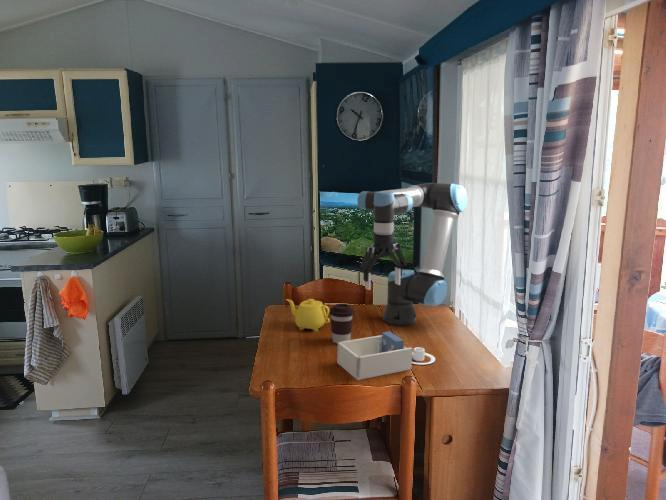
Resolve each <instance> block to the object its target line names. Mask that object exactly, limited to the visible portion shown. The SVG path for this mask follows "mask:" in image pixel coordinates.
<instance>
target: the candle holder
mask: <svg viewBox="0 0 666 500" xmlns="http://www.w3.org/2000/svg"><path fill="white" fill-rule="evenodd" d="M425 357H428V358H429V359H430V361H428V362H423V361H424V360H425ZM412 360H413V361H412V364H413V365H420V366H422V365H423V366H424V365H430V364H432V363H434V362H435V361H436V357H435V356H434V355H432V354H430V353H427V352H426V351H425V348H423V347H418V346H417V347H414V348H413V350H412ZM414 361H415V362H414Z"/></svg>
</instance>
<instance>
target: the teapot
mask: <svg viewBox="0 0 666 500" xmlns="http://www.w3.org/2000/svg"><path fill="white" fill-rule="evenodd" d="M285 301H287V302H288V303H289V305H290V311H291V314H292V316H294V319H295V320H294V322H295V324H296V326H297V327H298V330H299V331H304V330H306V329H307V330H309V329H310V330H312V332H315V333H317V332H319V329H320V328H322V327H324V326H325V324H329V323H331V318H329V317H328V316H329V315H330V308H329V306H328V305H324V304H323V302H322V301H320V300H315V299H314V298H308V299H306V300H304V301H302V302H300V304H299V305H298V306H297V307H298V308H296V307H295V303H294V301H293V300H292V299H287V298H286V299H285Z"/></svg>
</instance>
